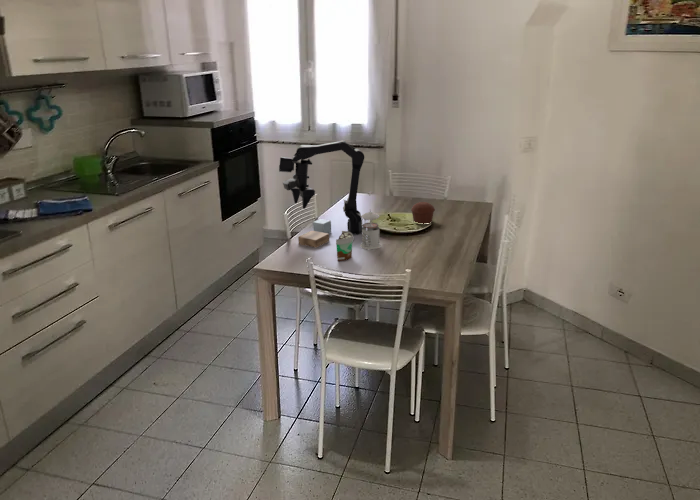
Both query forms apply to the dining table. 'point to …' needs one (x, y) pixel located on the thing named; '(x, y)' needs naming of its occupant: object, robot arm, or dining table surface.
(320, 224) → the slate cube
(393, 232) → the dining table surface
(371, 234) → the french press
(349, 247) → the food container
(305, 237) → the walnut block
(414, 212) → the muffin
